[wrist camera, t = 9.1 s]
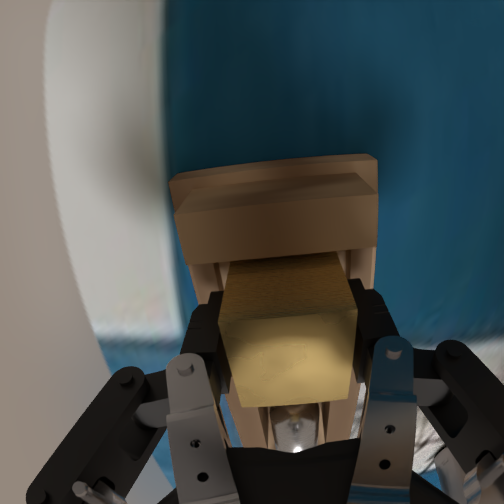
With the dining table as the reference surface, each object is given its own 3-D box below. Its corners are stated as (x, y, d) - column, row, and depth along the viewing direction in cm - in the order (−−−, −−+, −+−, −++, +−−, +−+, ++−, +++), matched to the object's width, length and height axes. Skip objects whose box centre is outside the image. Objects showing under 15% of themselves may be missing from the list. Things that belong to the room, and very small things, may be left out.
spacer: (325, 224, 14) (357, 309, 9) (327, 304, 16) (347, 398, 11) (236, 233, 14) (217, 321, 9) (249, 311, 16) (241, 407, 11)
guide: (367, 153, 14) (408, 180, 9) (341, 449, 26) (346, 489, 22) (177, 173, 14) (141, 208, 10) (253, 456, 27) (251, 496, 23)
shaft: (323, 384, 18) (329, 433, 15) (318, 456, 24) (320, 491, 20) (263, 389, 19) (261, 439, 16) (276, 459, 24) (276, 494, 21)
